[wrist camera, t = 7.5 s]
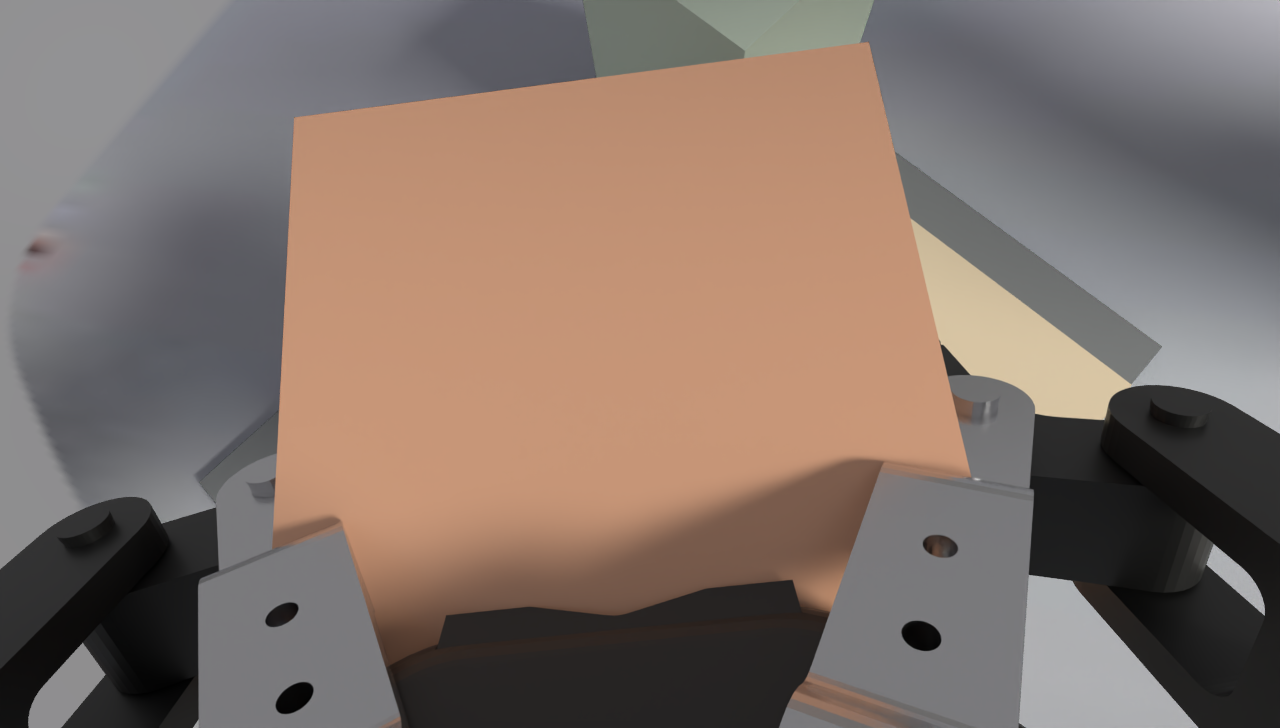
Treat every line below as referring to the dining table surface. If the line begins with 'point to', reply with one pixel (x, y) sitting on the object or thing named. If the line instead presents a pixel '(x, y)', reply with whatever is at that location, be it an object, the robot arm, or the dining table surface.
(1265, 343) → the dining table surface
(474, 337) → the orange block
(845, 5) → the grey-green block
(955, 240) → the mat
